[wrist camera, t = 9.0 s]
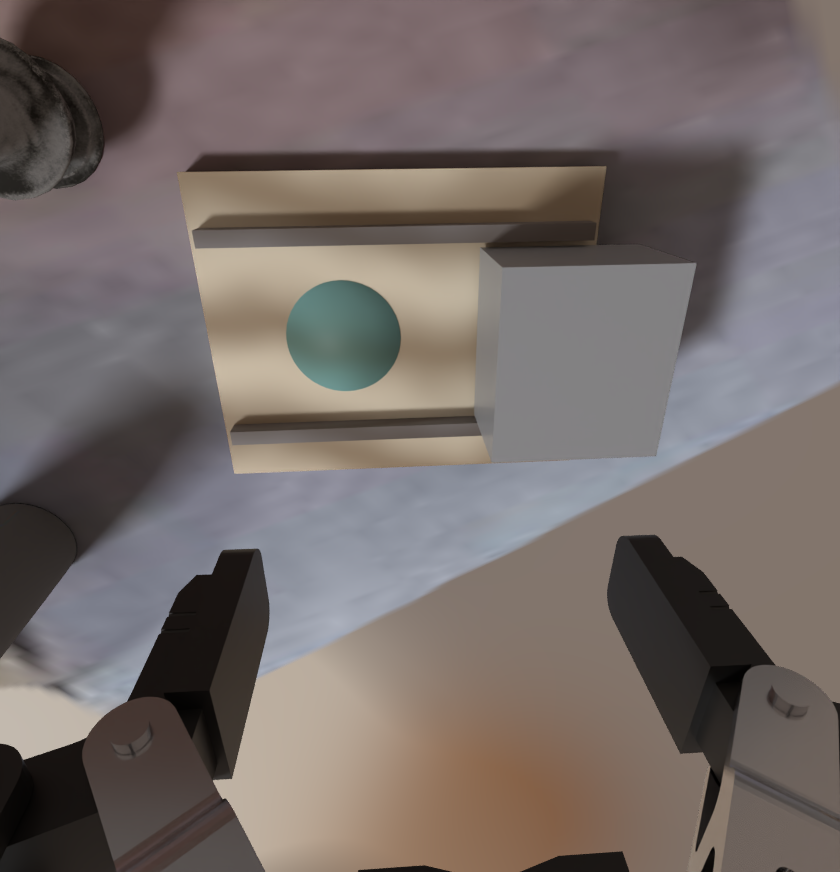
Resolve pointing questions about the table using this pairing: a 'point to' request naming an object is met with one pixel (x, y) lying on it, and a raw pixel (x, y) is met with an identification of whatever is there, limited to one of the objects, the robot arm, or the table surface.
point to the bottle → (29, 564)
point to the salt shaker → (43, 127)
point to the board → (362, 302)
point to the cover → (577, 349)
